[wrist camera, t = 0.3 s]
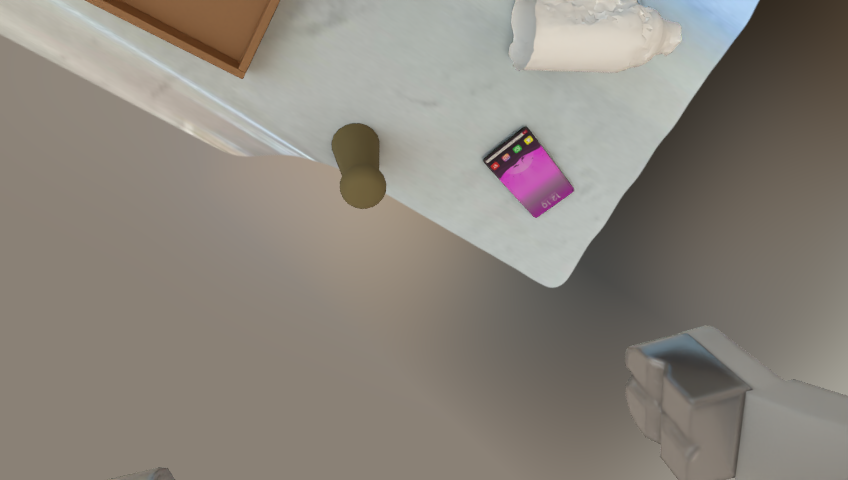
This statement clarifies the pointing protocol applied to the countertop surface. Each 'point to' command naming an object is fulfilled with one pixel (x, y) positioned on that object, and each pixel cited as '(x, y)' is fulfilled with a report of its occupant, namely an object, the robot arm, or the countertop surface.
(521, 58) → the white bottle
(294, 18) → the countertop surface
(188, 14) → the tray
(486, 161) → the smartphone
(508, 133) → the countertop surface
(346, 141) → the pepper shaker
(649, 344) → the robot arm
